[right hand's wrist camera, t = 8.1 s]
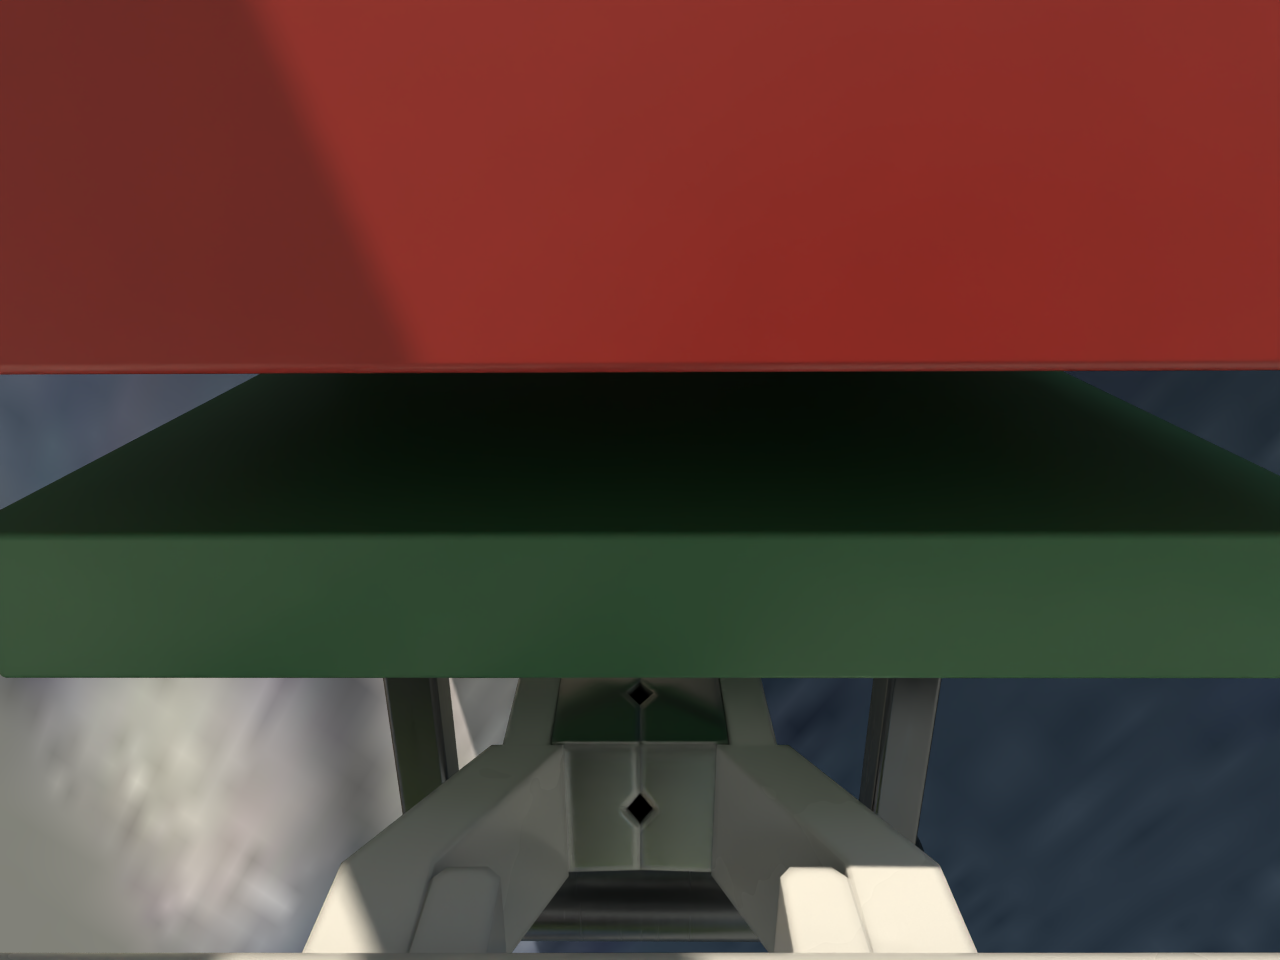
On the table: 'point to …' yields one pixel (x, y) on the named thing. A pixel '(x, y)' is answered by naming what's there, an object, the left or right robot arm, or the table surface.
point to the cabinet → (638, 186)
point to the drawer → (652, 555)
